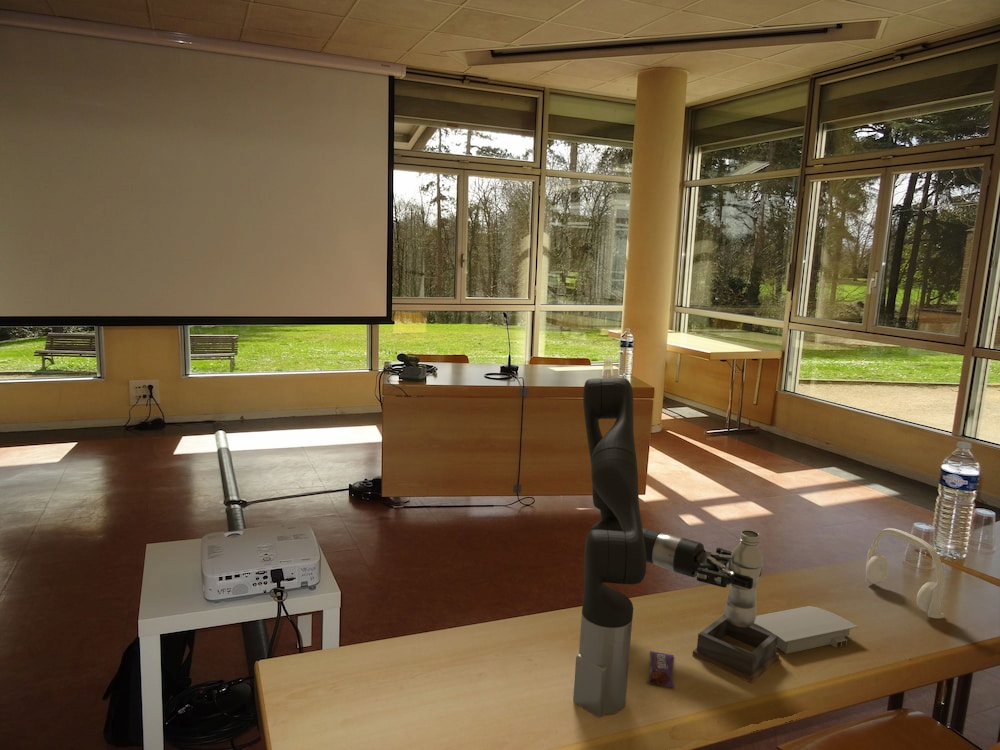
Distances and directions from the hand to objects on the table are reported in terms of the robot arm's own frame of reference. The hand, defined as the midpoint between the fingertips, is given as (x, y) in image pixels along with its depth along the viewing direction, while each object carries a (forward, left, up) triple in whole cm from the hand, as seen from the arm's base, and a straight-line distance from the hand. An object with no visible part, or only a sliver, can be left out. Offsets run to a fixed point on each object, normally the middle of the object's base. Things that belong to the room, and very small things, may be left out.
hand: (756, 577), depth 143 cm
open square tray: (-1, +2, -19) cm, 19 cm away
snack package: (-17, +10, -19) cm, 28 cm away
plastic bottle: (0, +2, -11) cm, 11 cm away
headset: (+55, -15, -19) cm, 60 cm away
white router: (+19, -4, -19) cm, 27 cm away
